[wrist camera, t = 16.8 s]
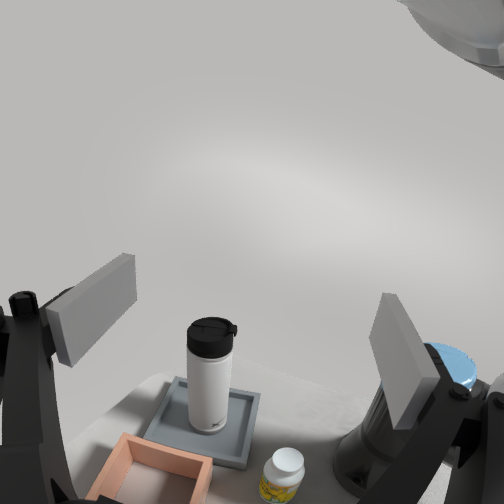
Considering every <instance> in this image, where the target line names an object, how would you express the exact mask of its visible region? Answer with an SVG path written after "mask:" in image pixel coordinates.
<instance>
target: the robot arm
mask: <svg viewBox="0 0 504 504" xmlns="http://www.w3.org/2000/svg"><path fill="white" fill-rule="evenodd" d="M397 1H399V2H401V3H403V4H404V5H406V6H407V7H408V9H409V11H410V13H411V14H412V16H413V17H414V19H415V20H416V22H417V23H418V24H419V25H420V27H421V28H422V29H423V30H424V31H425V32H426V33H427V34H428V35H429V36H430V37H431V38H432V39H433V40H434V41H436V42H437V43H438V44H440V45H441V46H442V47H444V48H446V49H447V50H448V51H450V52H452V53H454V54H456V55H457V56H459V57H461V58H462V59H464V60H466V61H468V62H470V63H472V64H474V65H476V66H478V67H480V68H481V69H483V70H485V71H487V72H489V73H491V74H493V75H495V76H497V77H499V78H501V79H503V80H504V0H397ZM136 301H137V292H136V274H135V255H131V254H125V253H122V254H121V255H119V256H118V257H116V258H115V259H114V260H112V261H110V262H109V263H108V264H106V265H105V266H103V267H102V268H100V269H99V270H97V271H96V272H94V273H93V274H91V275H90V276H89V277H87V278H86V279H84V280H83V281H82V282H80V283H79V284H77V285H76V286H73V287H71V288H68V289H65V290H64V291H63V292H61V293H60V294H59V295H57V296H56V297H54V298H53V299H51V300H50V301H49V302H47V303H46V304H44V305H43V306H42V307H41V308H38V304H37V299H36V294H35V293H33V292H30V291H21V292H17V293H15V294H13V295H12V296H11V297H10V298H9V304H10V308H11V312H12V315H13V316H5V315H4V312H3V309H2V307H1V306H0V404H1V401H2V399H3V405H2V406H3V407H2V445H0V504H122V503H120V502H117V501H115V500H113V499H110V498H108V497H106V496H103V495H101V494H100V495H99V497H98V499H97V500H96V501H95V500H87V499H78V497H77V495H76V493H75V491H74V488H73V485H72V481H71V477H70V473H69V469H68V465H67V460H66V456H65V451H64V446H63V441H62V435H61V429H60V423H59V417H58V410H57V401H56V392H55V382H54V370H53V361H52V358H51V356H52V355H53V354H54V353H55V352H56V354H57V357H58V360H59V363H62V364H64V365H67V366H69V367H71V368H72V367H73V366H74V365H75V364H76V363H77V362H78V361H79V360H80V358H82V357H83V356H84V354H85V353H86V352H87V351H88V350H89V349H90V348H91V347H92V346H93V345H94V344H95V343H96V342H97V341H98V340H99V339H100V338H101V336H102V335H103V334H104V333H105V332H106V331H107V330H108V329H109V328H110V327H111V326H112V325H113V324H114V323H115V322H116V321H117V320H118V319H119V318H120V317H121V316H122V315H123V314H124V313H125V312H126V311H127V310H128V308H129V307H131V306H132V305H133V304H134V302H136ZM369 339H370V343H371V346H372V350H373V353H374V357H375V360H376V363H377V367H378V371H379V374H380V378H381V384H380V386H379V388H378V391H377V393H376V395H375V397H374V399H373V402H372V404H371V406H370V408H369V410H368V412H367V414H366V416H365V418H364V420H363V422H362V423H361V424H360V425H359V426H357V427H356V428H355V429H354V430H352V431H351V432H350V433H348V434H347V435H346V436H345V437H344V438H343V439H342V441H341V442H340V444H339V446H338V448H337V449H336V451H335V454H334V457H333V470H334V473H335V476H336V478H337V480H338V481H339V483H340V484H341V485H342V486H343V487H344V488H345V489H346V490H347V491H348V492H350V493H351V494H353V495H355V496H357V497H359V498H362V499H361V500H360V501H359V502H358V503H357V504H417V503H418V501H419V499H420V498H421V496H422V495H423V493H424V492H425V490H426V489H427V487H428V485H429V484H430V482H431V480H432V479H433V477H434V475H435V474H436V472H437V470H438V468H439V467H440V465H441V463H443V464H445V465H447V466H449V467H451V468H452V471H451V476H450V481H449V485H448V489H447V493H446V497H445V501H444V504H504V373H503V374H501V375H500V376H498V377H497V378H496V379H495V381H494V382H493V383H492V385H489V384H487V383H485V382H482V381H481V380H478V379H477V368H476V365H475V363H474V361H473V360H472V359H470V358H468V356H467V354H466V353H464V352H462V351H461V350H459V349H457V348H454V347H452V346H448V345H445V344H440V343H428V342H426V343H423V342H422V340H421V338H420V336H419V334H418V332H417V331H416V329H415V327H414V325H413V323H412V321H411V320H410V318H409V316H408V314H407V312H406V311H405V309H404V307H403V305H402V304H401V302H400V300H399V298H398V297H397V295H396V294H390V293H383V294H382V297H381V301H380V304H379V307H378V311H377V314H376V317H375V320H374V324H373V327H372V330H371V333H370V336H369Z"/></svg>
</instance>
